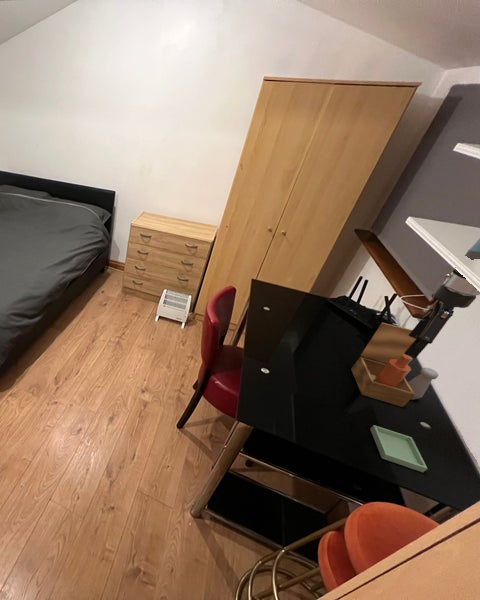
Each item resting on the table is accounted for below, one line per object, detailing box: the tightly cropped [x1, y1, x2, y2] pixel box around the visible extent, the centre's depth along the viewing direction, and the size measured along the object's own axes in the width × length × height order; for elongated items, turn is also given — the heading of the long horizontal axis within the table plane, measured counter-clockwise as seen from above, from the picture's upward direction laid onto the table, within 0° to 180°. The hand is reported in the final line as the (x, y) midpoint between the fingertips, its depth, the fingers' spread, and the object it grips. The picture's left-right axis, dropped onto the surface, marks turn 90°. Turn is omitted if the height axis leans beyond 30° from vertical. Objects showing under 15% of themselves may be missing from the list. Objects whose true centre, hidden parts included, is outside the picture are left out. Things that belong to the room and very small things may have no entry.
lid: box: [360, 322, 416, 364], centre depth 120 cm, size 15×13×1 cm
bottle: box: [373, 354, 413, 388], centre depth 115 cm, size 6×6×17 cm
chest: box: [350, 356, 415, 408], centre depth 120 cm, size 15×13×7 cm
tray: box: [369, 424, 428, 473], centre depth 100 cm, size 11×10×2 cm
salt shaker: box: [407, 367, 439, 401], centre depth 116 cm, size 6×6×13 cm
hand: (411, 346), depth 103 cm, fingers open, 13 cm apart
